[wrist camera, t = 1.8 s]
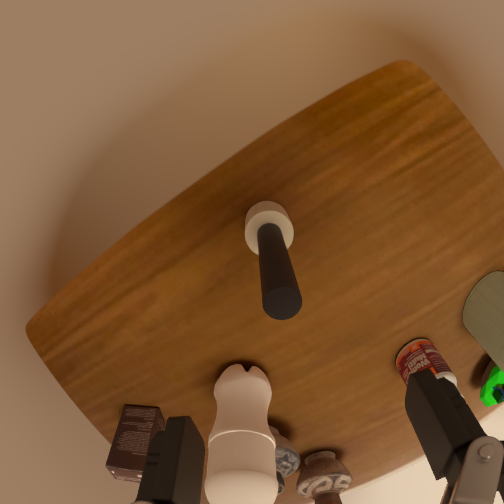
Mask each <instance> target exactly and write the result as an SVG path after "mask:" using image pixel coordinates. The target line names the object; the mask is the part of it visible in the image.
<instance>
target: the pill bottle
mask: <svg viewBox="0 0 504 504" xmlns="http://www.w3.org/2000/svg"><path fill="white" fill-rule="evenodd" d="M396 366H397V369H398V371H399V373H400V375H401V377H402V378H403V380H404V382H405V384H406V386H407V384H408V377H409V375H410V374H411V373H414V372H417V371H420V370H423V369H426V368H430V369H431V370H432V372H433V373H434V375H435V376H436V378H437V379H438V378H441V377H445V378H446V379H448V380H449V381H451V382H452V383H454V384H455V386H457V380H456V377H455V375H454V374H453V372H452V371H451V369H450V368H449V367H448V365H447V364H446V362H445V361H444V359H443V358H442V356H441V355H440V354H439V352H438V351H437V349H436V348H435V347H434V345H433V344H432V343H431V342H430V341H429V340H427V339H417V340H414V341H412V342H410V343H409V344H407V345H406V346H405V347H404V348H403V349H402V350H401V351H400V352H399V354H398V356H397V359H396ZM457 389H458V387H457ZM458 390H459V389H458ZM459 392H460V390H459ZM460 394H461V392H460ZM461 396H462V397H463V395H462V394H461ZM463 398H464V397H463Z"/></svg>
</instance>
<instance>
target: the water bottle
mask: <svg viewBox="0 0 504 504" xmlns="http://www.w3.org/2000/svg"><path fill="white" fill-rule="evenodd" d="M271 395H272V392H271V387H270V383H269V381H268V378H267V377H266V375H265V374H264V373H263V372H262V370H260V369H259V368H258V367H256V366H252V367H251V368H250V370H249V371H248V372H246V371H245V370H244V368H243V366H242V365H241V364H234V365H231V366H229V367H228V368H227V369H226V370H225V371H224V372H223V373H222V375H221V376H220V378H219V379H218V380H217V382H216V384H215V388H214V397H215V399H216V402H217V416H216V420H215V424H214V426H213V429H212V431H211V433H210V435H209V441H208V448H209V454H208V464H207V475H206V479H205V482H204V485H205V493H206V496H207V499H208V501H209V503H210V504H274V502H275V499H276V497H277V493H278V481H277V476H276V462H275V448H276V443H275V438H274V436H273V435H272V433H271V431H270V430H269V426H268V423H267V411H268V406H269V403H270V400H271Z"/></svg>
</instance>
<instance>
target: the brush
mask: <svg viewBox="0 0 504 504" xmlns="http://www.w3.org/2000/svg"><path fill="white" fill-rule="evenodd" d="M293 237H294V229H293V226H292V223H291V221H290V219H289V217H288V214H287V212H286V211H285V209H284V208H283V207H282V206H281V205H280V204H278V203H276V202H273V201H261V202H258V203H256V204H255V205H253V206H252V207H251V208H250V209H249V211H248V212H247V215H246V218H245V240H246V243H247V245H248V246H249V248H250V249H251V250H252V251H253V252H254V253H256V254H258V255H259V265H260V277H261V290H262V302H263V308H264V311H265V312H266V314H267V315H269V316H270V317H271V318H274V319H277V320H286V319H289V318H292V317H293V316H295V315H296V314H297V313H298V312H299V310H300V309H301V306H302V297H301V294H300V290H299V287H298V284H297V280H296V277H295V274H294V270H293V267H292V264H291V261H290V257H289V254H288V251H287V249H288V248H289V246H290V245H291V243H292V241H293Z"/></svg>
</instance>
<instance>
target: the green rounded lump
mask: <svg viewBox="0 0 504 504" xmlns="http://www.w3.org/2000/svg"><path fill="white" fill-rule="evenodd" d="M480 399H481V401H482V402H483V403H484V404H485V405H486V407H488V406H491V405H494V404H497V403H498V404H499V403H501V402H503V401H504V373H503V372H502V371H501V369H500V368H499V367H498V366H497V364H496V363H495V362H494V361H493V359H492V360H491V361H490V362H489V364H488V366H487V368H486V370H485V372H484V374H483V376H482V383H481V392H480Z"/></svg>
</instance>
